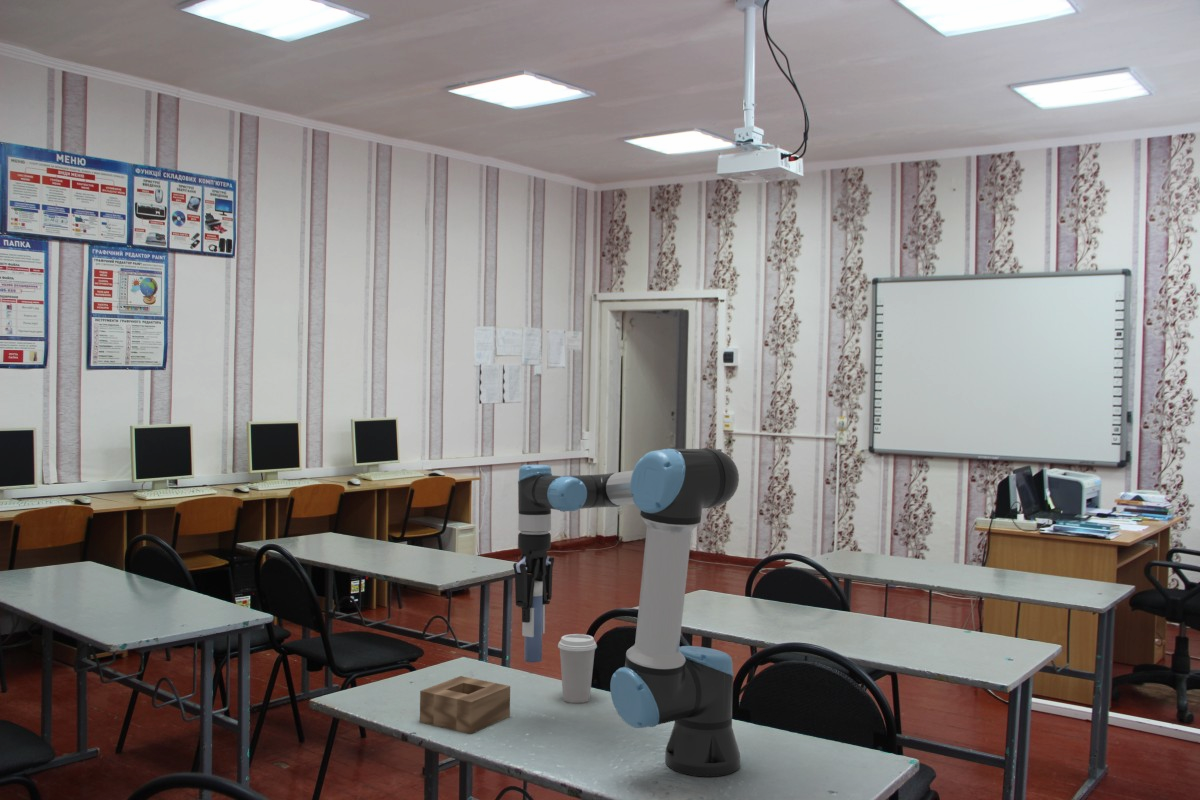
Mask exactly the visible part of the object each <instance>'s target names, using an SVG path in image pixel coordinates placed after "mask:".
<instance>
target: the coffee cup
mask: <svg viewBox="0 0 1200 800" xmlns="http://www.w3.org/2000/svg"><path fill="white" fill-rule="evenodd" d="M557 648H558V649H559V655H560V656H559V657H560V670H561V687H562V688H561V689H562V700H563V701H564V702H565V703H566V702H567V703H571V704H582V703H587V702H589V701H590V697H591V689H592V679H593V672H594V670H593V669H594V659H595V651H596V649H597V648H598V645H597V643H596V641H595V639H594V637H593V636H592V635H589V634H583V633H573V634H564V635H563V636H561V637H560V641H558V644H557Z"/></svg>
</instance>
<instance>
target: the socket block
mask: <svg viewBox="0 0 1200 800" xmlns="http://www.w3.org/2000/svg"><path fill="white" fill-rule="evenodd" d="M419 692H420V693H419V694H420V695H419V723H423V724H425V725H426V724H427V725H431V726H435V727H439V728H444V729H448V730H452V731H456V732H461V733H465V734H468V735H472V734H474V733H477V732H479V731H481V730H483V729H485V728H487V727H489V726H492V725H494V724H496V723H498V722H501V721H502V720H505V719H507V718H509V717H511V685H507V684H502V683H497V682H492V681H487V680H482V679H477V678H474V677H473V678H472V677H468V676H462V675H460V676H457V677H454V678H452V679H449V680H446V681H444V682H441V683H438V684H435V685H433V686H430V687H427V688H423V689H422V690H420V691H419Z"/></svg>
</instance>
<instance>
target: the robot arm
mask: <svg viewBox="0 0 1200 800" xmlns="http://www.w3.org/2000/svg"><path fill="white" fill-rule="evenodd" d="M519 467H520V468H519V469H518V481H517V487H518V490H517V491H518V492H517V494H518V496H517V498H518V500H517V501H518V506H517V507H518V508H517V509H518V522H517V523H518V524H517V525H518V526H517V527H518V528H517V529H518V531H520V532H518V534H517V548H518V549H519V550H520V551H521V555H520V556H521V557H520V561H518V562H514V563H513V565H512V567H513V571H514V585H515V588H514V589H515V591H514V592H515V593H514V594H515V606H517V607H518V608H521V622H522V629H521V630H522V631H521V633H522V634H521V636H522V637H525V636H527V637H534V608H531V607H532V600H533V592H534V583H535V580H536V581H543V597H542V635H544V634H545V633H546V632H545V631H546V605H550V602H551V600H552V598H553V597H552V595H553V591H552V590H553V589H552V588H553V571H554V570H553V568H554V563H555V557H553V556H549V555H548V552H547V551H548V550H550V549H551V546H552V543H551V541H552V534H551V533H550V531H551V530H552V510H557V511H560V512H576V511H578V510H580V509H591V508H592V509H593V508H618V507H622V506H630V505H635V506H636V507H637V509H639V510H640V513H639V514H640V515H639V517H640V518H641V519H642V521H643V522H644V523H645V525H646V535H645V544H644V554H643V561H642V562H643V563H642V571H641V573H642V574H641V582H640V589H639V590H640V593H639V603H638V609H637V610H638V613H637V620H636V621H637V622H636V631H635V643H634V644H633V645H632V646H631V647H630V648H628V649H627V650H626V653H625V659H624V660H625V662H624V666H623V667H619V668H618V669H616V671H615V672H614V673H613V674H612V676H611V679H610V684H609V685H610V687H609V688H610V689H609V690H610V697H611V700H612V704H613V707H614V708H615V710H616V712H617V714H618V716H619V717H620V718H621V720H623V722H625V723H626V724H627V725H628V726H630V727H632V728H634V729H644V728H655V727H657V726H659V725H663V724H666V723H672V722H674V724H673V726H672V731H671V733H670V736H669V739H668V742H667V745H666V748H665V753H664V754H665V758H664V759H665V760H664V761H665V764H666V766H667V767H669V769H671V770H673V771H675V772H678V773H681V774H684V775H689V776H694V777H721V776H727V775H730V774H732V773H735V772H737V771H738V770H739V769H740V766H741V753H740V750H739V749H740V748H739V746H738V742H737V739H736V736H735V733H734V729H733V701H734V700H733V699H734V694H733V693H734V676H735V674H734V668H733V666H734V665H733V658H732V656H731V655H729V654H728V653H727V652H724V651H722V650H718V649H715V648H709V647H704V646H697V645H682V646H680V644H681V643H680V642H681V641H680V640H681V632H682V623H683V616H684V615H683V614H684V605H685V597H686V586H687V578H688V569H689V568H688V567H689V559H690V548H691V539H692V532H693V530H694V529H695V528H697V527H698V526H699V525H700V524H701V523H702V522H701V520H702V513H703V512H702V511H703V509H712V508H716V507H720V506H722V505H725V503H727V502H728V501H730V500H731V499H732V498H733V496H734V495H735V493H736V492H737V489H738V486H739V483H740V482H739V481H740V478H739V476H740V475H739V470H738V467H737V465H736V463H735V462H734V460H733V459H732V458H731V457H730V456H729V455H728V454H727V453H725V452H723V451H721V450H719V449H715V448H663V449H658V450H651V451H649V452H647V453H645V454H644V455H643V456H642V457H641V458H640V459H639V460H638V461H637V462H636V464H635V466H634V467H633V469H632V470H626V471H620V472H611V473H610V472H609V473H603V474H602V473H600V474H583V475H581V474H580V475H576V474H575V475H574V474H573V475H553V473H552V468H551V466H550V465H548V464H547V465H546V464H524V465H523V464H522V465H521V466H519Z"/></svg>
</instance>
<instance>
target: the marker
mask: <svg viewBox="0 0 1200 800" xmlns="http://www.w3.org/2000/svg"><path fill="white" fill-rule="evenodd" d="M542 597H543V581H536V580H535V583H534V592H533V600H532V607H531V608H534V637H527V636H524V662H526V663H540V662H543V634H542Z"/></svg>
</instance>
